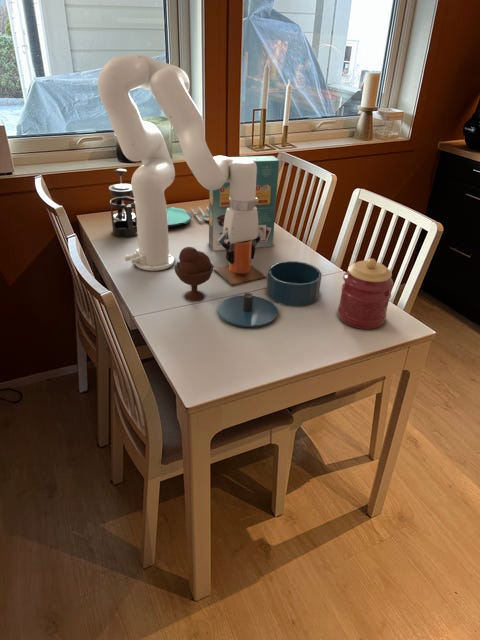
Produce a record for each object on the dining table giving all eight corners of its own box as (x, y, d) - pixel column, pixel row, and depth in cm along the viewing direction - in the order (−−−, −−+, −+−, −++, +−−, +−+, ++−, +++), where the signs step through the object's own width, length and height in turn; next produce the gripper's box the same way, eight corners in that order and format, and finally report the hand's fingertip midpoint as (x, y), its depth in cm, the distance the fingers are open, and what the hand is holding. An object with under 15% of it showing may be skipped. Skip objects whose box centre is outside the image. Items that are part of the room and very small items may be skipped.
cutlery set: (135, 214, 202) (135, 208, 200) (207, 208, 211) (207, 203, 210) (145, 232, 186) (144, 226, 185) (222, 225, 195) (222, 219, 194)
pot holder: (231, 285, 152) (232, 284, 152) (213, 270, 161) (213, 268, 161) (265, 278, 158) (265, 276, 157) (246, 263, 166) (246, 261, 166)
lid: (236, 334, 129) (236, 316, 126) (207, 306, 141) (207, 288, 138) (288, 320, 137) (290, 302, 134) (257, 294, 149) (258, 277, 146)
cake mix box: (267, 239, 185) (273, 155, 169) (272, 246, 180) (279, 160, 164) (208, 243, 179) (209, 157, 163) (212, 250, 174) (213, 162, 158)
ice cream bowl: (184, 308, 140) (183, 259, 132) (170, 291, 148) (168, 243, 140) (219, 301, 144) (220, 253, 136) (203, 284, 152) (203, 238, 144)
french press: (108, 229, 187) (101, 167, 175) (132, 225, 191) (127, 164, 179) (118, 241, 178) (112, 176, 166) (144, 236, 182) (139, 172, 170)
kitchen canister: (393, 318, 139) (407, 260, 130) (368, 335, 131) (380, 275, 122) (354, 301, 147) (364, 245, 138) (327, 316, 139) (336, 257, 130)
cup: (236, 275, 155) (236, 244, 149) (225, 266, 159) (226, 237, 154) (254, 271, 158) (255, 241, 152) (243, 262, 162) (245, 233, 157)
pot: (286, 311, 141) (288, 289, 137) (256, 287, 152) (258, 266, 149) (329, 299, 148) (332, 278, 144) (298, 277, 159) (300, 257, 155)
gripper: (260, 196, 154) (257, 250, 163) (210, 204, 146) (209, 260, 156) (274, 203, 149) (270, 259, 158) (222, 212, 141) (221, 269, 150)
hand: (240, 259), depth 157 cm, fingers closed on cup, 6 cm apart
